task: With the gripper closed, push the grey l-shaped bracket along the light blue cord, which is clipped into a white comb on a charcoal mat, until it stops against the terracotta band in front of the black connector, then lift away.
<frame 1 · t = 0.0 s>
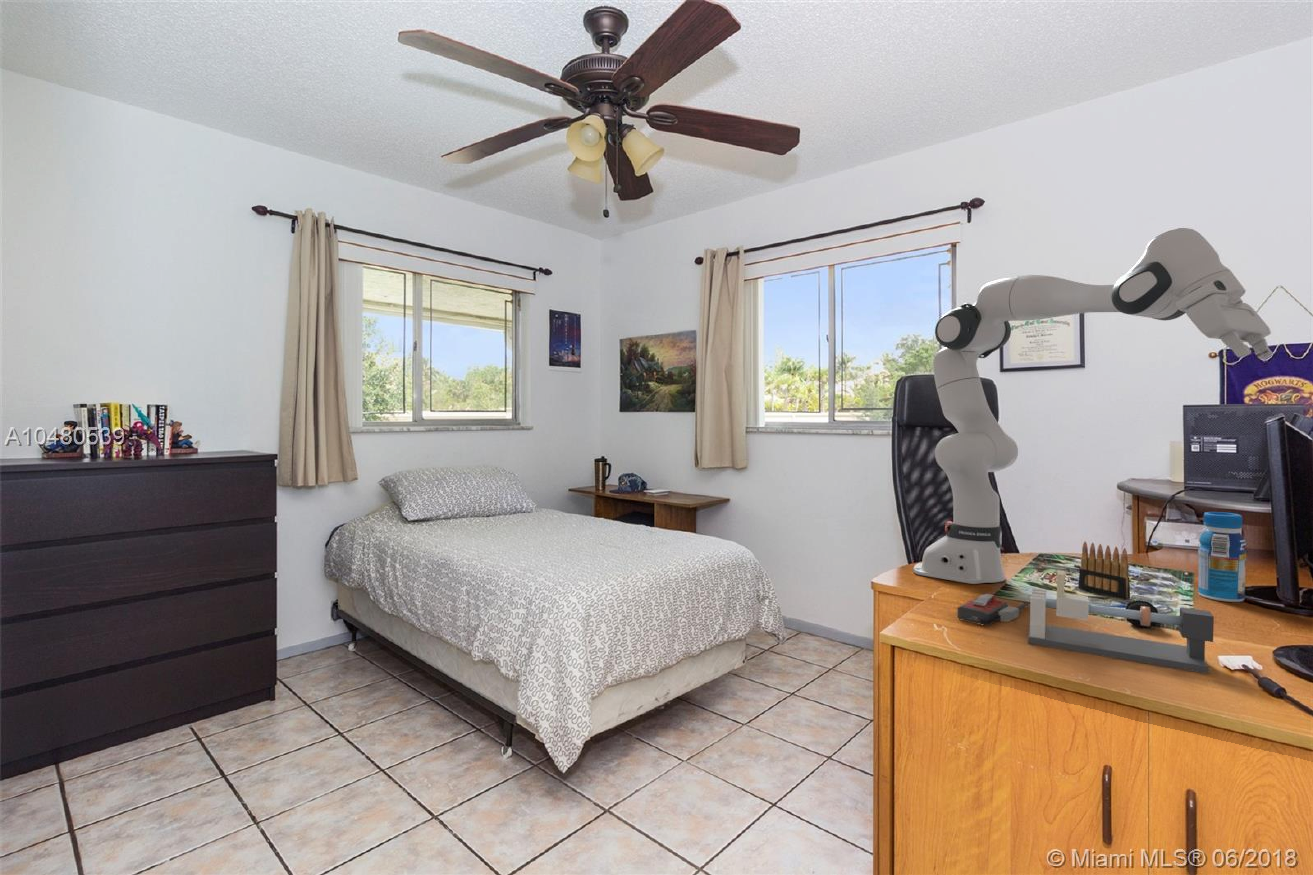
hand: (1256, 356, 115), 54 cm above the table, tool tilted 30°, fingers open, 8 cm apart
blue supplement bottle: (1220, 598, 146), on the table
cord rig: (1110, 648, 114), on the table
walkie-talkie: (993, 616, 135), on the table
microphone: (1148, 620, 131), on the table
ammunition clip: (1103, 594, 150), on the table
grey l-shaped bracket: (1072, 594, 117), point 9 cm above the table, slide at 0.0 cm
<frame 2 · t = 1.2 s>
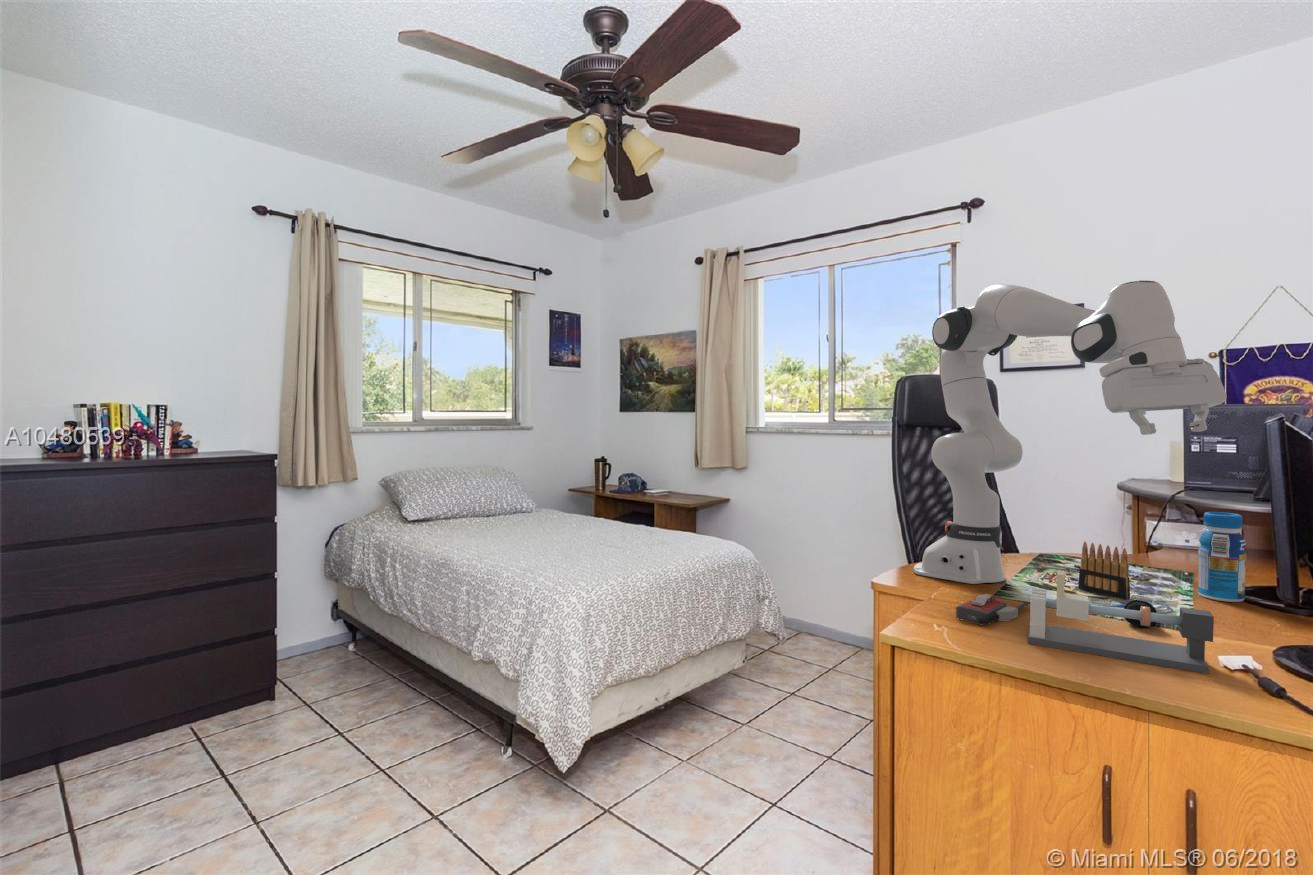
hand: (1174, 432, 112), 40 cm above the table, tool tilted 15°, fingers open, 8 cm apart
nothing on the table moved.
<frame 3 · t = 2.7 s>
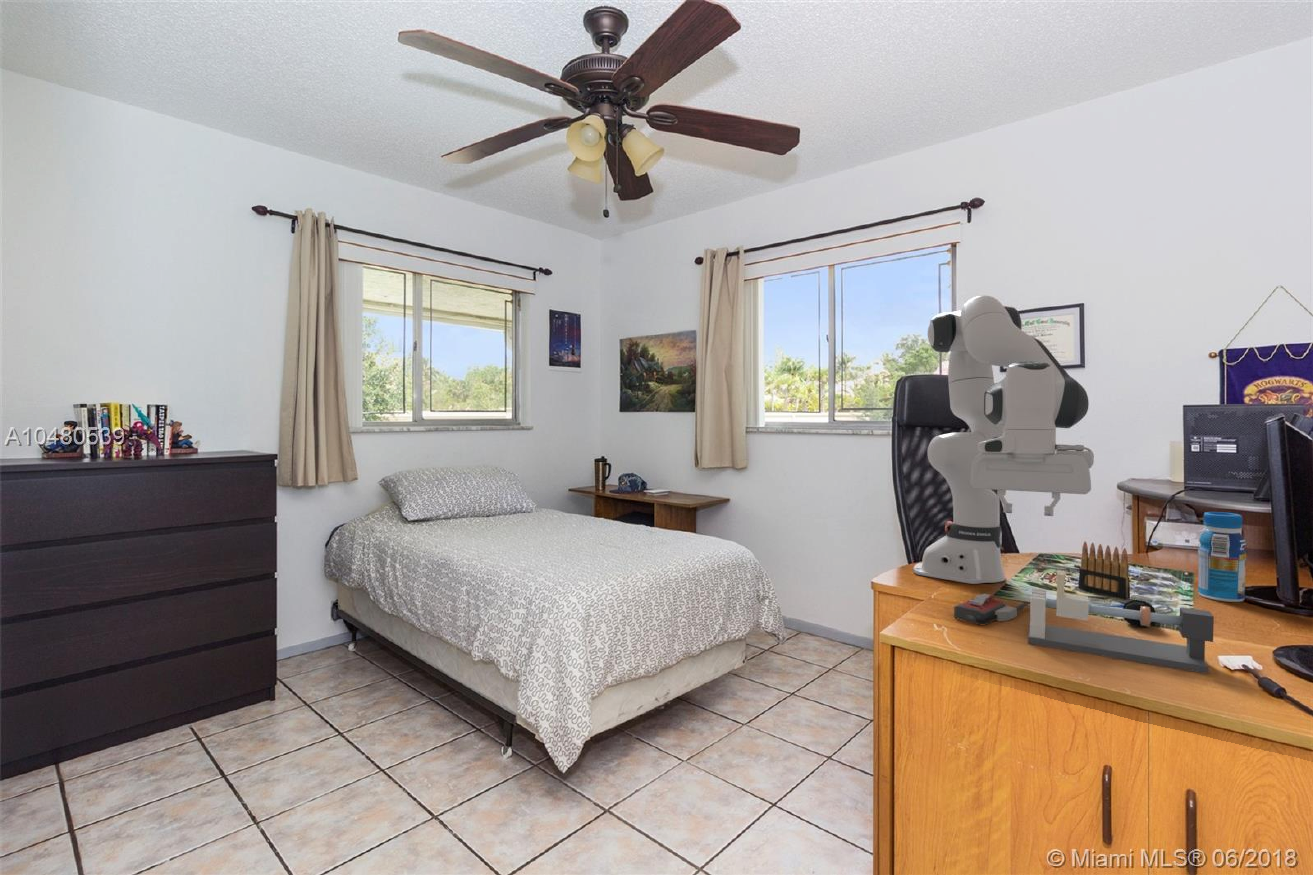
hand: (1027, 514, 121), 24 cm above the table, tool pointing down, fingers open, 5 cm apart
nothing on the table moved.
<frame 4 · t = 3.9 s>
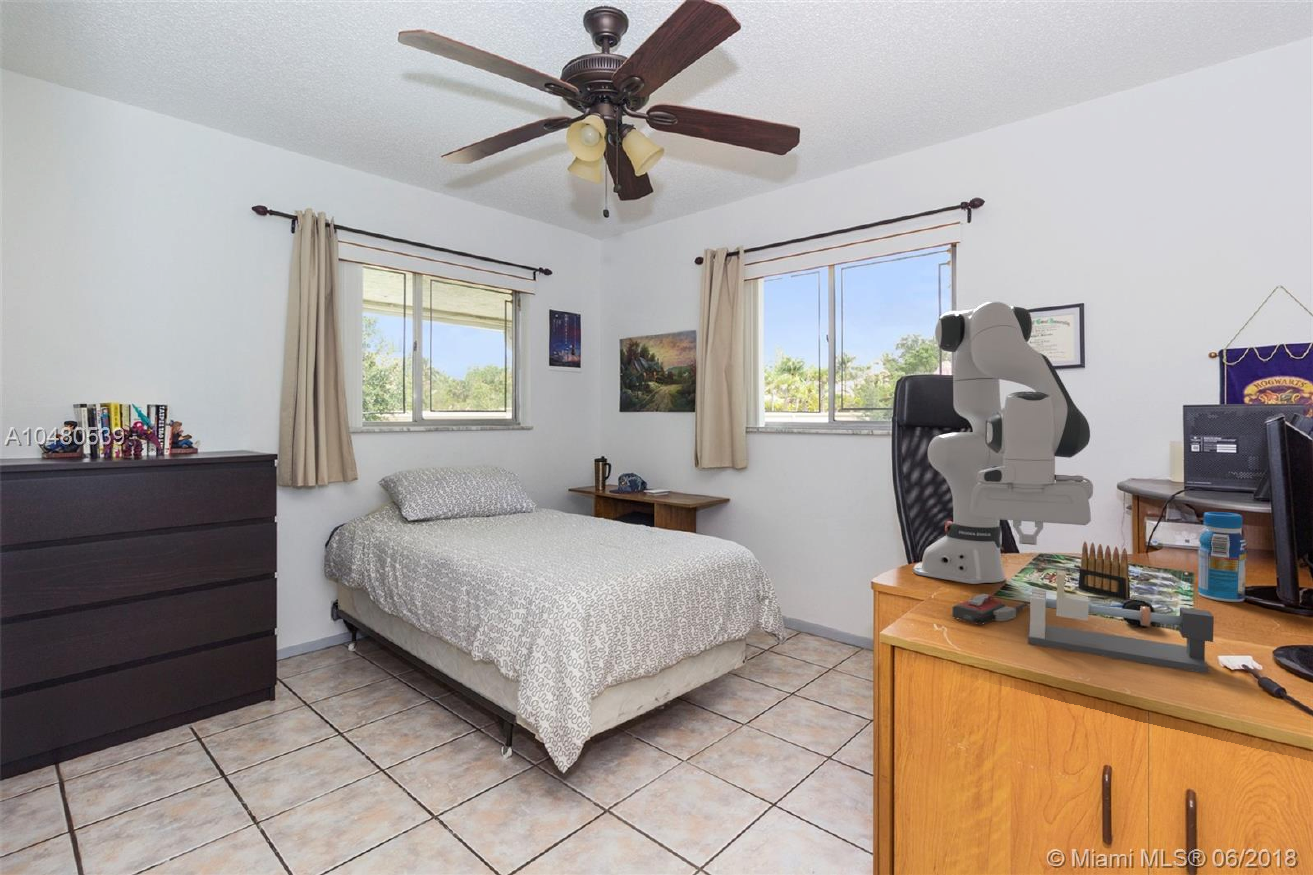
hand: (1028, 544, 121), 18 cm above the table, tool pointing down, fingers closed
nothing on the table moved.
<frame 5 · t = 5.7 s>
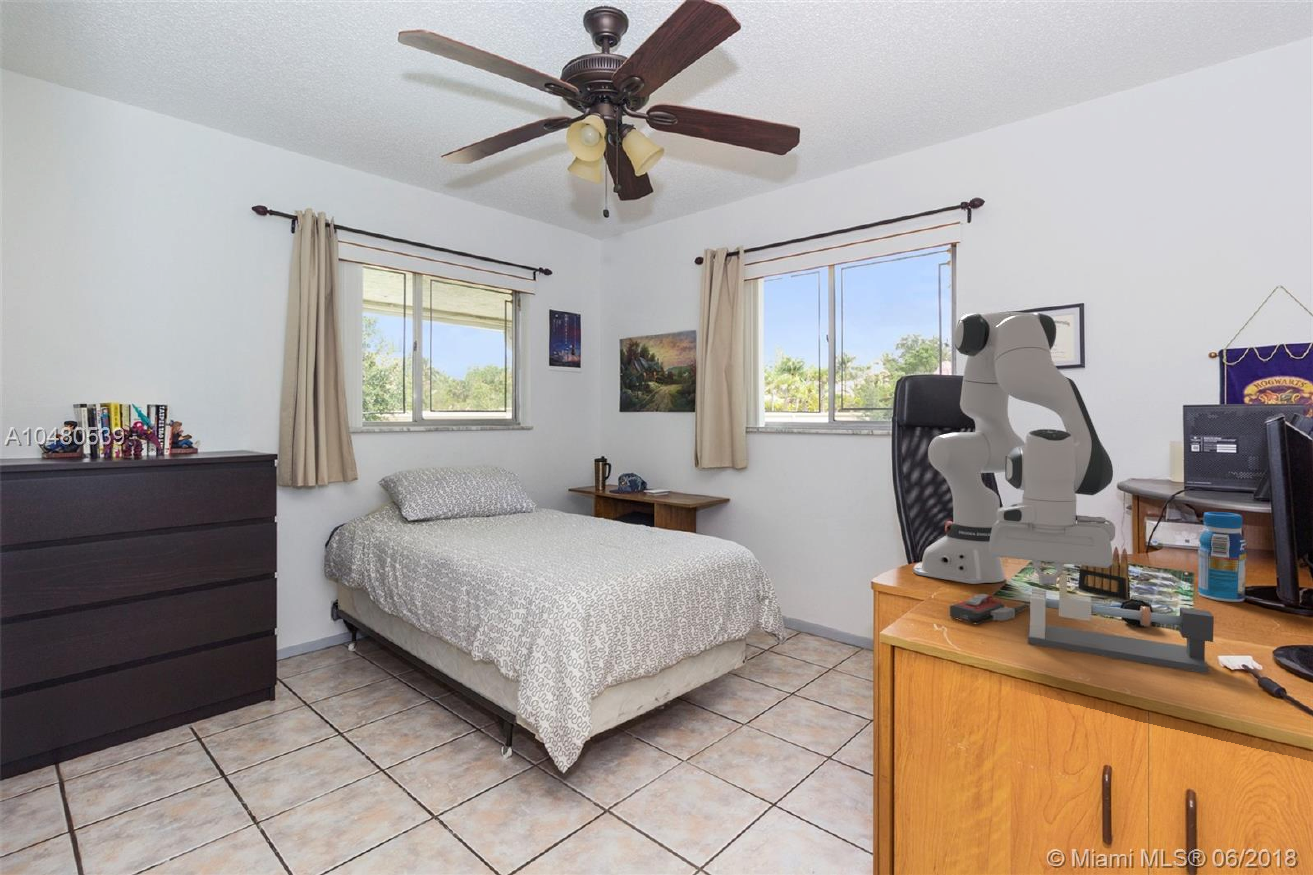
hand: (1047, 584, 119), 11 cm above the table, tool pointing down, fingers closed
grey l-shaped bracket: (1074, 595, 117), point 9 cm above the table, slide at 0.4 cm, touching gripper
everything else where it was.
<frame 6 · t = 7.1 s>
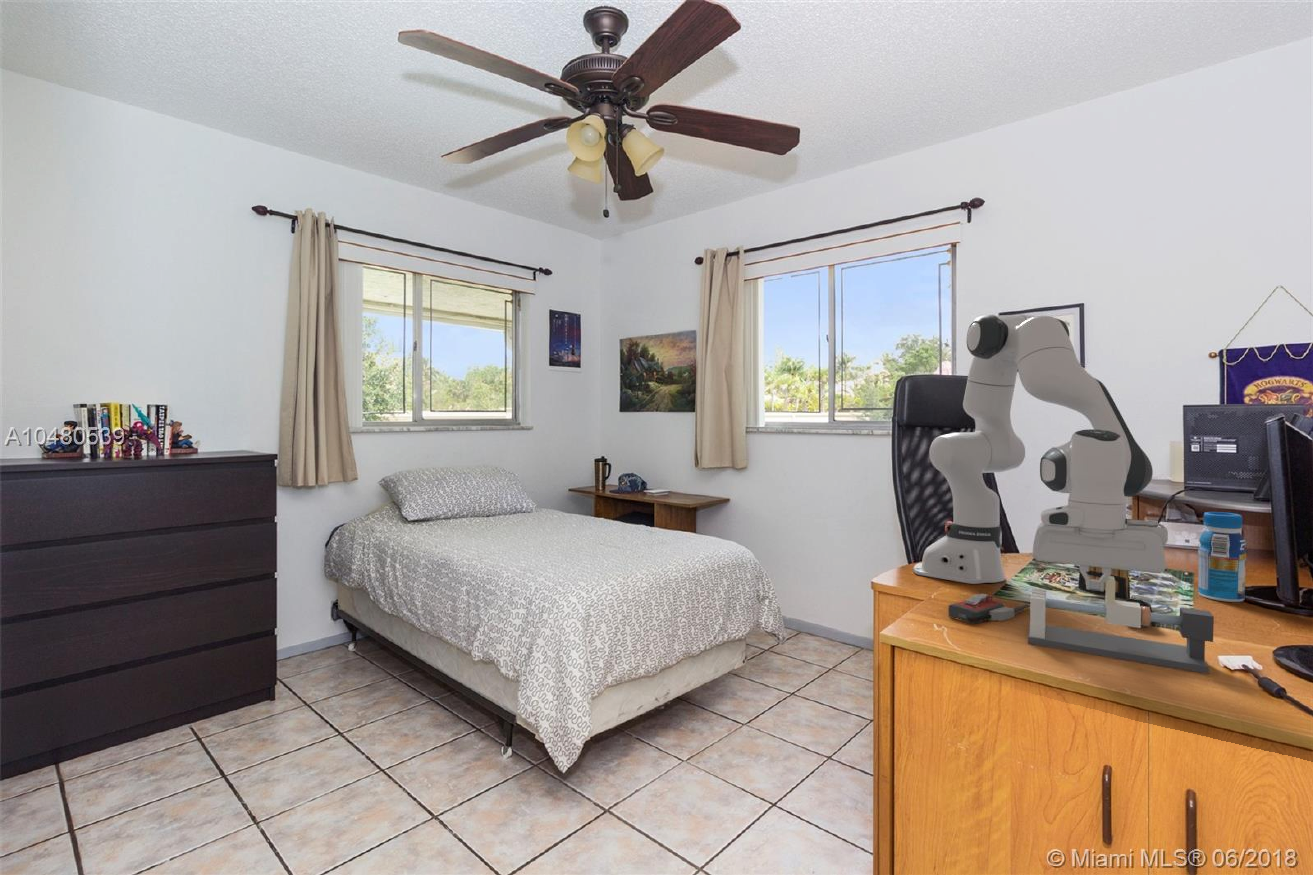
hand: (1094, 589, 115), 11 cm above the table, tool pointing down, fingers closed
grey l-shaped bracket: (1122, 601, 113), point 9 cm above the table, slide at 7.7 cm, touching gripper
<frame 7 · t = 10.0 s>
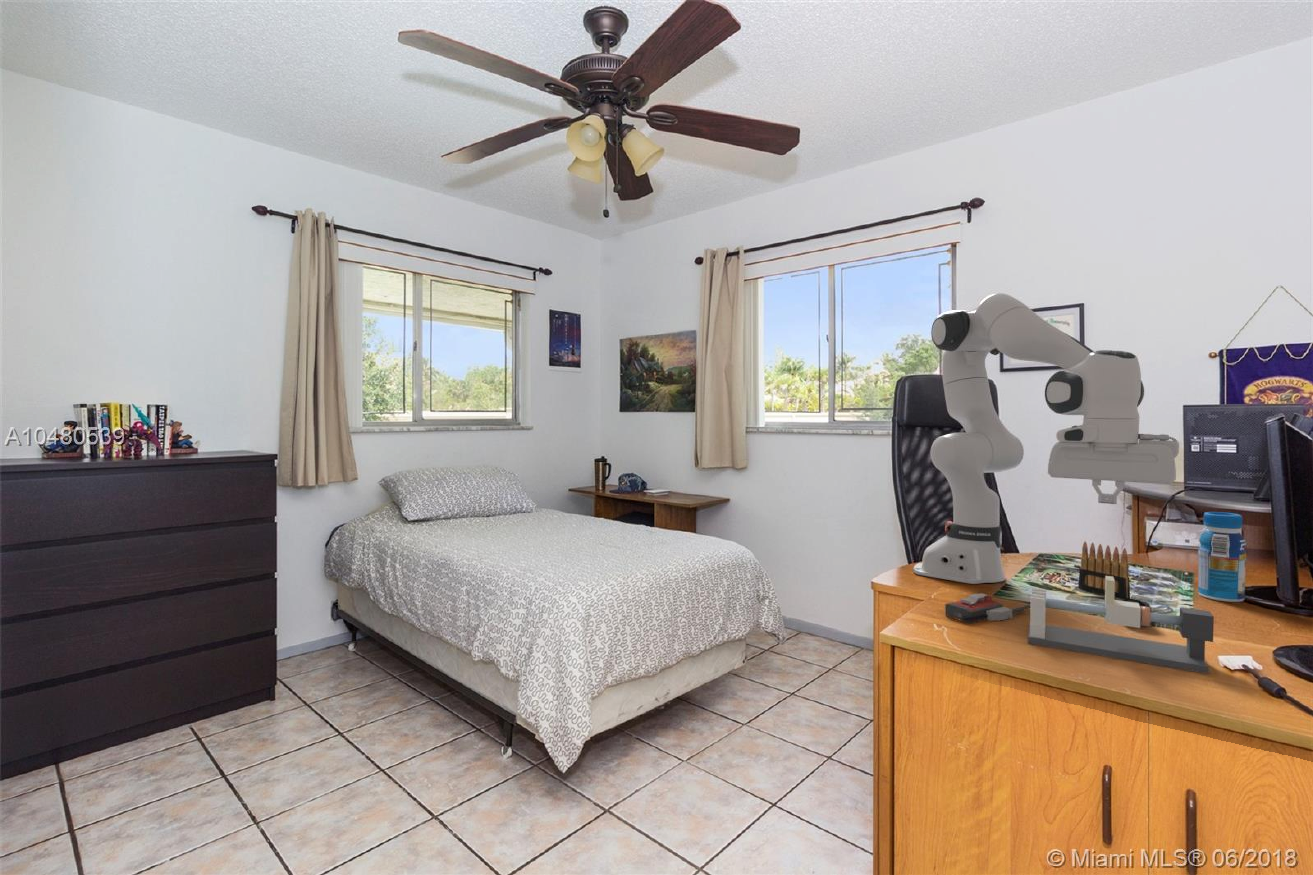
hand: (1107, 503, 121), 26 cm above the table, tool pointing down, fingers closed
grey l-shaped bracket: (1122, 601, 113), point 9 cm above the table, slide at 7.6 cm
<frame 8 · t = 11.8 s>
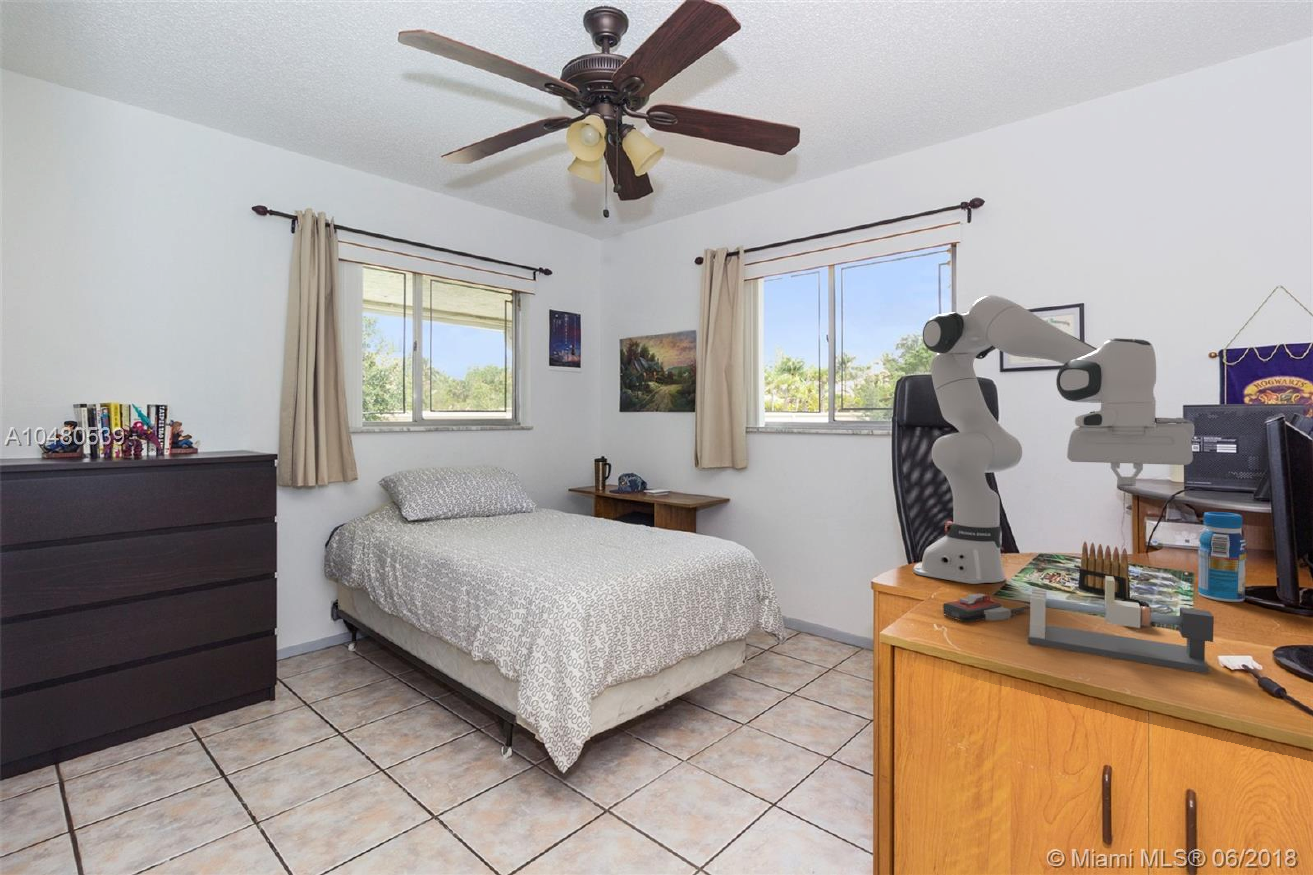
hand: (1126, 485, 125), 29 cm above the table, tool pointing down, fingers closed
at the end: grey l-shaped bracket slide at 7.6 cm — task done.
